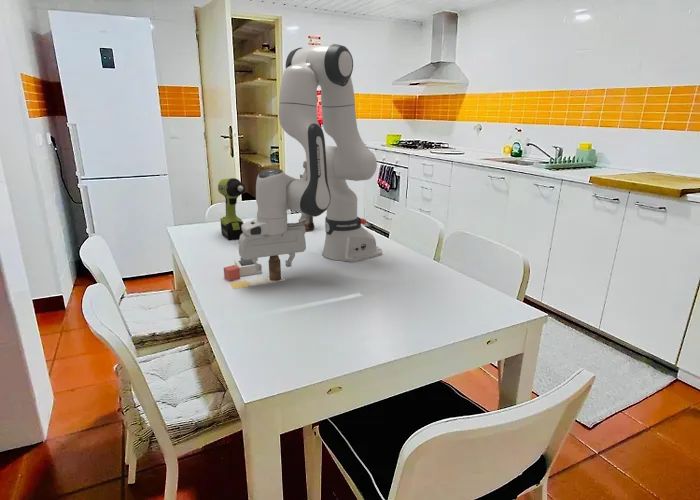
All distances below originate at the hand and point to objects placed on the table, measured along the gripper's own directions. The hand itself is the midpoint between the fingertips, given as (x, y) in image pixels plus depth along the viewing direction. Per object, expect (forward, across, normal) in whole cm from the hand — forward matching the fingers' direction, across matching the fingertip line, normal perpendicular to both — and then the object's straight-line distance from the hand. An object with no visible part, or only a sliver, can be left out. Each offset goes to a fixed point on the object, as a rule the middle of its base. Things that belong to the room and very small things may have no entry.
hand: (273, 268), depth 130 cm
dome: (+3, +6, -10) cm, 12 cm away
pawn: (+4, 0, 0) cm, 4 cm away
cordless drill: (+4, 0, -50) cm, 51 cm away
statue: (+4, -31, -52) cm, 61 cm away
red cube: (+4, +12, -6) cm, 14 cm away
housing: (+4, +6, -10) cm, 12 cm away
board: (+5, +5, -5) cm, 9 cm away
